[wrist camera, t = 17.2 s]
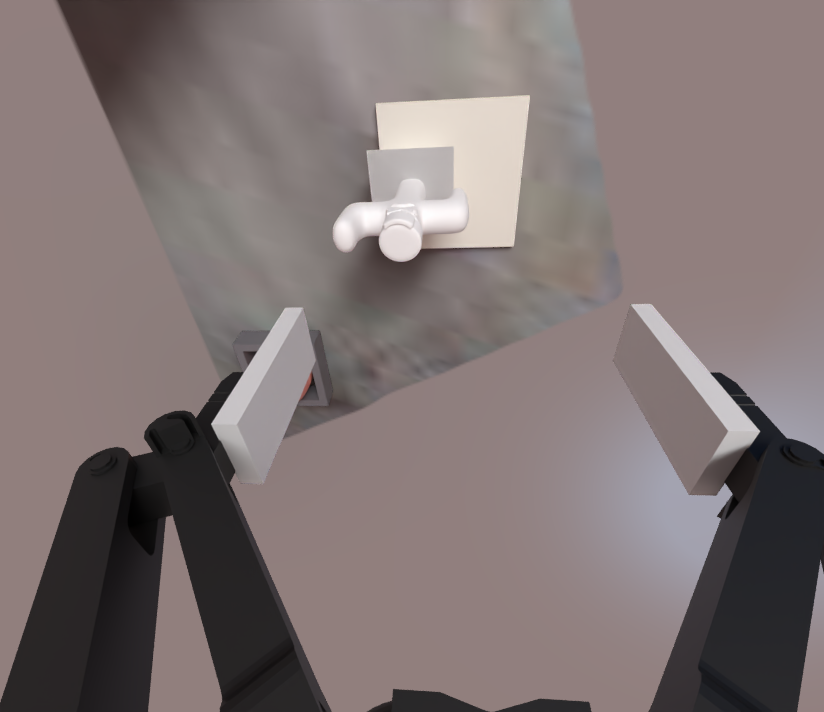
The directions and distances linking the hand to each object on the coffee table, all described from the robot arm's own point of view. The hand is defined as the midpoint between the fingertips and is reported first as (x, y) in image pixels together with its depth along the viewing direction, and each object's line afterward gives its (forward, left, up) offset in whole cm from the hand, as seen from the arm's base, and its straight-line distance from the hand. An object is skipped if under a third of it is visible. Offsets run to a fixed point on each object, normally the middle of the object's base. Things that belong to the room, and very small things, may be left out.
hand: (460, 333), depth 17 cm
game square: (0, 0, -27) cm, 27 cm away
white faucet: (0, -3, -26) cm, 27 cm away
